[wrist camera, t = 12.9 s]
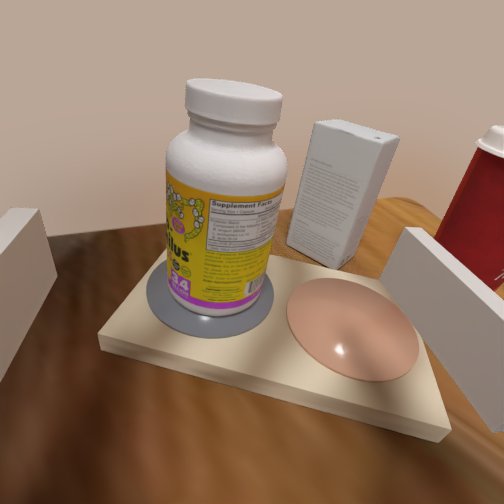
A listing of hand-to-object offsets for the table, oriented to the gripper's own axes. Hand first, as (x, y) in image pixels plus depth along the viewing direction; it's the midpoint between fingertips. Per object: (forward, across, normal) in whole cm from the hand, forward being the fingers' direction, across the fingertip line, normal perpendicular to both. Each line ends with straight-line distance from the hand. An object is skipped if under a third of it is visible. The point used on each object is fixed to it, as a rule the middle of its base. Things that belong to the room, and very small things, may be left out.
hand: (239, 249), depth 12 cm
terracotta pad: (+4, +9, -9) cm, 13 cm away
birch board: (+6, +5, -10) cm, 12 cm away
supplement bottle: (+7, 0, -8) cm, 11 cm away
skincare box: (+15, +11, -10) cm, 21 cm away
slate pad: (+7, 0, -9) cm, 11 cm away
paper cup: (+9, +22, -10) cm, 26 cm away
